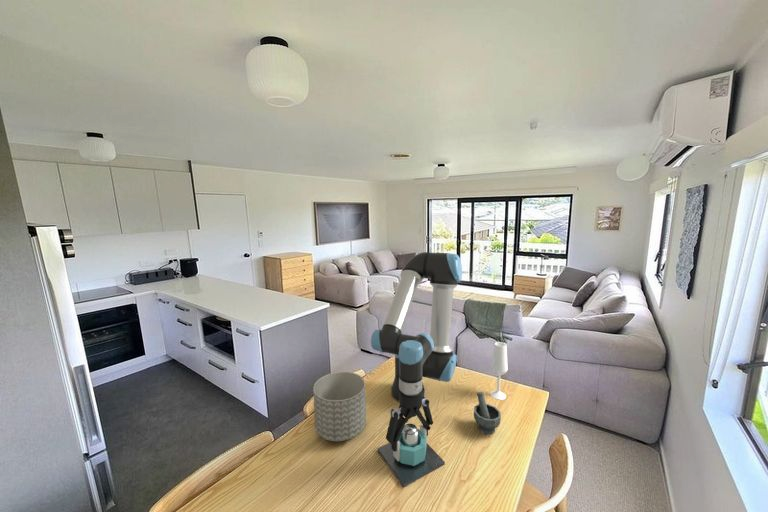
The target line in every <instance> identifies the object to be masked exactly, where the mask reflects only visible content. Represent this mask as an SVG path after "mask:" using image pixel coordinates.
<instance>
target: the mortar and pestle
mask: <svg viewBox="0 0 768 512" xmlns="http://www.w3.org/2000/svg"><path fill="white" fill-rule="evenodd" d="M476 396H477V399H478V404H476V405H475V406H474V408H473V419H474V420H475V422H476V424H477V425H478V430H479V432H480V433H483V434H485V435H493V434H495V432H496V428H498V427H499V425H500V424H501V419H502V418H501V415H502V414H501V413H502V411H500V410H499V409H498V408H497V406H493V405H492V404H489V403H486V402H487V401H486V399H485V393H484V391H478V392H476Z"/></svg>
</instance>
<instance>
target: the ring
mask: <svg viewBox="0 0 768 512" xmlns="http://www.w3.org/2000/svg"><path fill="white" fill-rule="evenodd" d="M417 429H418V445H417V446H415V447H413V448H412V447H407V446H404V445H403V430H402V433H401V435H400V437H399V440H398V441H399V442H400V462H401V463H403V464H407V465H412V466H415V465H417V464H419V463H420V462H422V461H424V460H425V454H426V436H425V435H424V434H423V433H422V432H421V431H420V428H417Z"/></svg>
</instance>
